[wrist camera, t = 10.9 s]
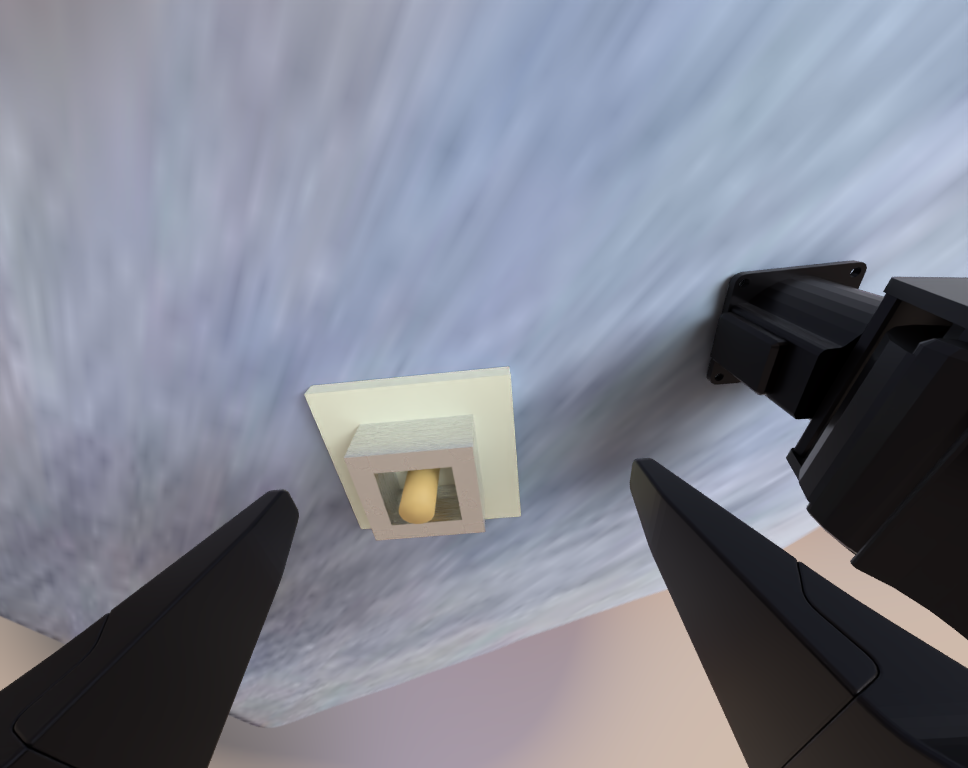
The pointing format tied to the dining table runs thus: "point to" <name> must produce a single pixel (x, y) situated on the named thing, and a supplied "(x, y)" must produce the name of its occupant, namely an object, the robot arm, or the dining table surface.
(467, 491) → the link
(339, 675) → the dining table surface
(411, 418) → the keeper
